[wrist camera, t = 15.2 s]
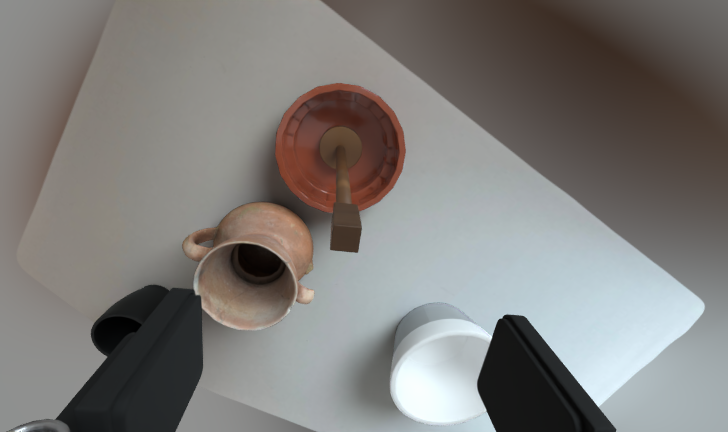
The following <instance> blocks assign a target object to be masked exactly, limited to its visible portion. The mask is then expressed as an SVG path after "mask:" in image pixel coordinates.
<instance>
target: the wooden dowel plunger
mask: <svg viewBox="0 0 728 432" xmlns="http://www.w3.org/2000/svg"><path fill="white" fill-rule="evenodd" d="M319 152H320V155H321V158H322V160H323V161H324V162H325V163H326V164H327V165H328V166H330V167H331V168H334V169H336V202H334V206H333V214H332V222H331V242H330V250H335V251H345V252H355V253H358V249H359V243H360V236H361V230H362V226H361V221H360V215H359V209H358V205H356V204H352V199H351V191H350V183H349V175H348V168H350V167H352V166H354V165H355V164H356V163H357V162H358V160H359V159H360V157H361V154H362V143H361V140H360V138H359V136H358V134H357V133H356V132H355V131H354V130H353V129H351V128H349V127H347V126H341V125H339V126H334V127H331V128H329V129H328V130H327V131H326V132H325V133H324V134H323V136H322V138H321V140H320V144H319Z"/></svg>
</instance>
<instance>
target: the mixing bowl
mask: <svg viewBox="0 0 728 432" xmlns="http://www.w3.org/2000/svg"><path fill="white" fill-rule="evenodd" d="M339 125H341V126H347V127H349V128H351V129H353V130H354V131H355V132H356V133H357V134H358V136H359V138H360V140H361V143H362V154H361V157H360V159H359V160H358V162H357V163H356V164H355V165H354V166H352V167H350V168H348V175H349V183H350V191H351V199H352V204H356V205H358V209H359V211H362V210H364V209H366V208H368V207H370V206H372V205H374V204H376V203H378V202H379V201H380V200H381V199H382V198H383V197H384V196H385V195H386V194H387V193H388V192H389V191H390V190H391V189H392V188H393V187H394V185H395V183H396V181H397V179H398V178H399V176H400V174H401V172H402V169H403V163H404V158H405V153H406V149H405V141H404V133H403V130H402V127H401V125H400V123H399V121H398V119H397V117H396V115H395V112H394V111H393V110H392V109H391V108H390V107H389V106H388V105H387V104H386V103H385V102H384V101H383V100H382V99H381V97H379V96H378V95H376V94H374V93H372V92H370V91H368V90H366V89H364V88H363V87H360V86H355V85H349V84H342V83H336V84H330V85H325V86H319V87H316V88H314V89H313V90H311V91H309V92H307V93H306V94H304V95H302V96H300V97H299V98H298V99H297V100H296V101H295V102H294V103H293V104H292V105H291V107H290V108H289V109H288V110H287V111H286V112H285V114H284V116H283V118H282V121H281V123H280V126H279V128H278V131H277V133H276V148H275V156H276V160H277V164H278V167H279V171H280V175H281V176H282V178H283V179H284V181H285V183H286V184H287V186H288V187H289V189H290V190H291V191H292V192H293V193H294V194H295V195H296V196H297V197H298V198H300V199H301V200H302V201H303V202H304V203H306V204H307V205H309V206H312V207H314V208H316V209H319V210H321V211H323V212H330V213H333V206H334V202H336V169H334V168H331V167H330V166H328V165H327V164H326V163H325V162H324V161H323V160H322V158H321V155H320V152H319V144H320V140H321V138H322V136H323V134H324V133H325V132H326V131H327V130H328V129H329V128H331V127H334V126H339Z"/></svg>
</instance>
